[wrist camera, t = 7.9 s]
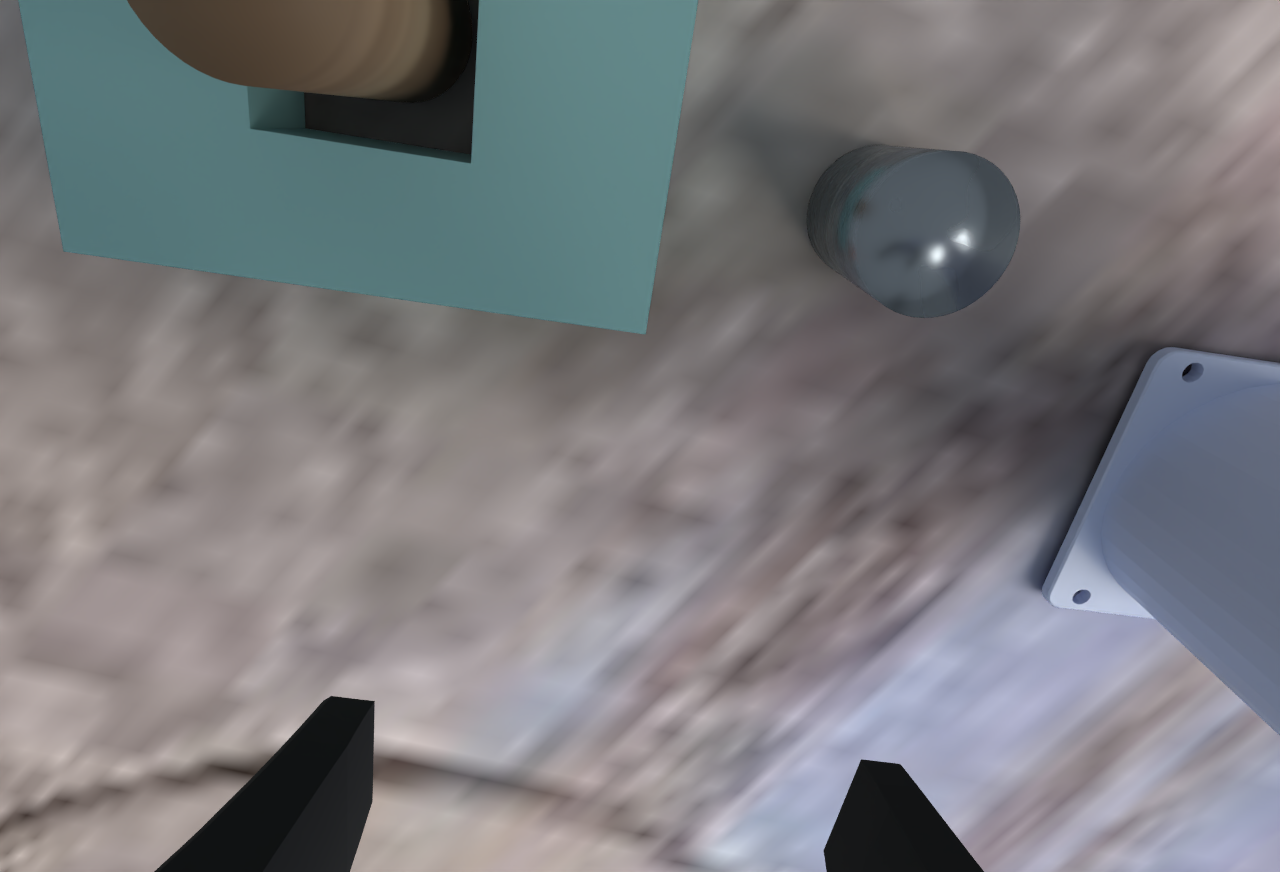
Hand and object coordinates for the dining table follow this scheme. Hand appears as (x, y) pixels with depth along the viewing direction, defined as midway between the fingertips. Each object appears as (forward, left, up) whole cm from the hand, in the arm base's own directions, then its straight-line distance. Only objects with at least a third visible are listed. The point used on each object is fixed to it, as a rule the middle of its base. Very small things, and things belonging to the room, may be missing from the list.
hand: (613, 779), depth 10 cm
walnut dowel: (+6, -10, -10) cm, 15 cm away
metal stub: (-5, -8, -10) cm, 13 cm away
